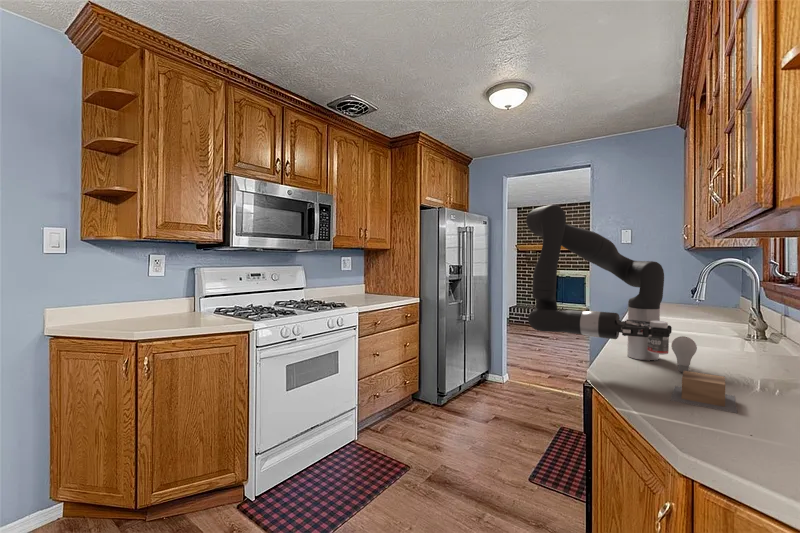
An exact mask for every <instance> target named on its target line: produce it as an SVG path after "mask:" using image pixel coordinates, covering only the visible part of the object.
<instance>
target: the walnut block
mask: <svg viewBox="0 0 800 533" xmlns="http://www.w3.org/2000/svg"><path fill="white" fill-rule="evenodd" d="M681 387H682V399H686V400H691V401H697V402H702V403H707V404H713V405H718V406H723V407H725V394H726V376H722V375H714V374H711V373H710V374H709V373H702V372H695V371H690V370H689V371H684V372H683V373H682V377H681Z"/></svg>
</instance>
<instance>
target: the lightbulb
mask: <svg viewBox="0 0 800 533" xmlns="http://www.w3.org/2000/svg"><path fill="white" fill-rule="evenodd" d="M671 350H672V352H673V354H674V355H675V358H676V363H677V366H678V367H677V369H678V371H679V372H680V373H681V374H683V372H684V371H690V366H691V362H692V359H693V357H694V355H695V354H696V353H697V350H698V346H697V344H696V342H695V341H694V340H693V339H692V338H691V337H688V336H683V335H681V336H677V337H675V338H674V339H673V340H672V342H671Z"/></svg>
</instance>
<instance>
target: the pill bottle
mask: <svg viewBox="0 0 800 533" xmlns="http://www.w3.org/2000/svg"><path fill="white" fill-rule="evenodd" d="M668 324H669V323H668V322H667V321H666V320H665V321H664V320H660V321H650V326H651V327H652V329H653V327H657V328H667V327H668ZM669 337H670V336H669ZM669 337H660V336H650V337H649V336H648V348H647V349H648V352H650V353H653V354H659V355H668V354H669V346H670V338H669Z"/></svg>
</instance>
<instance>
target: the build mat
mask: <svg viewBox="0 0 800 533" xmlns="http://www.w3.org/2000/svg"><path fill="white" fill-rule="evenodd" d="M670 401H671V402H677V403H682V404H685V405H691V406H692V405H693V406H697V407H703V408H708V409H714V410H718V411H723V412H728V413H729V412H730V413H734V414H738V409H737V403H736V396H735V395H733V394H726V393H725V407H723V406H718V405H713V404H707V403H702V402H697V401H691V400H686V399H682V385H681V386H679V385H674V387H673V390H672V393H671V397H670Z"/></svg>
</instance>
